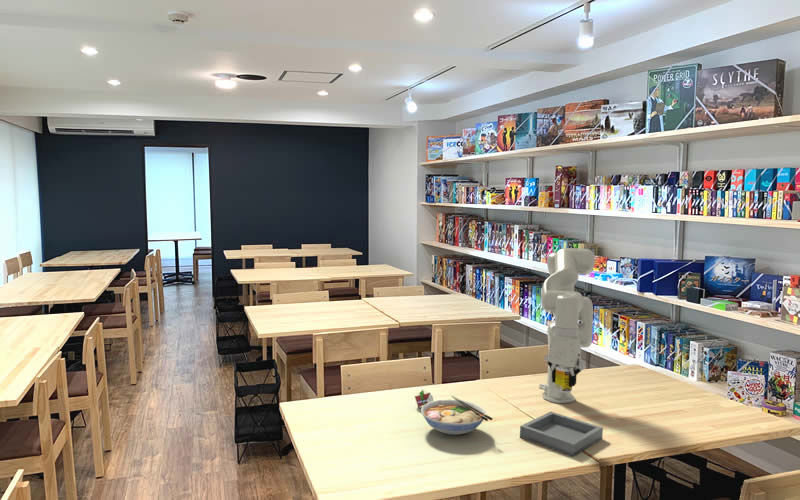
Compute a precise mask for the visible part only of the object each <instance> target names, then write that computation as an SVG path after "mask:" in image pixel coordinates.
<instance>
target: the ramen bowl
mask: <svg viewBox="0 0 800 500" xmlns="http://www.w3.org/2000/svg"><path fill="white" fill-rule="evenodd" d="M451 397H452V398H453V399H451V398H450V399H437V400H433V401H432V402H428V403H427V404H425V405H423V406H422V407H420V408H421V409H420V412H421V414H422V416H423V418H424V419H425V421H426V422H427V424H428V425H429V427H431V428H433V429H434V430H436V431H438V432H440V433H443V434H445V435H449V436H459V435H462V434H464V435H465V434H468V433H471V432H472V431H475V429H477V428H478V427H479V426H480V425H481V424H482V422H483V421H486V422H488V421H493V417H491V416H489V415H487V411H486V409H484V407H482V406H480V405H478V404H476V403H473V402H470V401H468V400H467V401H466V400H461V399H459V398H457V397H456V396H453V395H451Z"/></svg>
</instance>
